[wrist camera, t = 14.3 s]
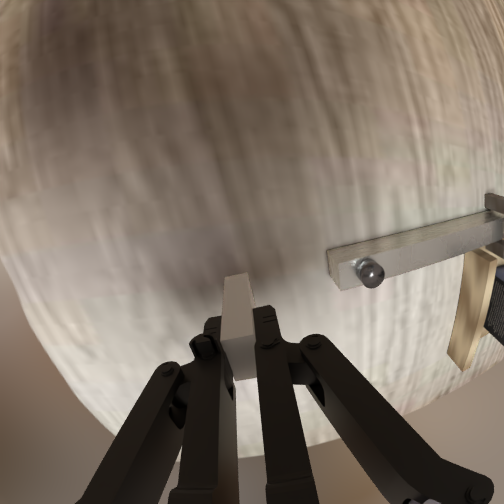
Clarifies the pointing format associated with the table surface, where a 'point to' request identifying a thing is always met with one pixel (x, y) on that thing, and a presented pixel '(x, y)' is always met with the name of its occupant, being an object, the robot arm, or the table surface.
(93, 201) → the table surface
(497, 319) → the small box
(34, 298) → the table surface
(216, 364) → the robot arm
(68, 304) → the table surface
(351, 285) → the lock bolt
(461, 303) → the cradle
